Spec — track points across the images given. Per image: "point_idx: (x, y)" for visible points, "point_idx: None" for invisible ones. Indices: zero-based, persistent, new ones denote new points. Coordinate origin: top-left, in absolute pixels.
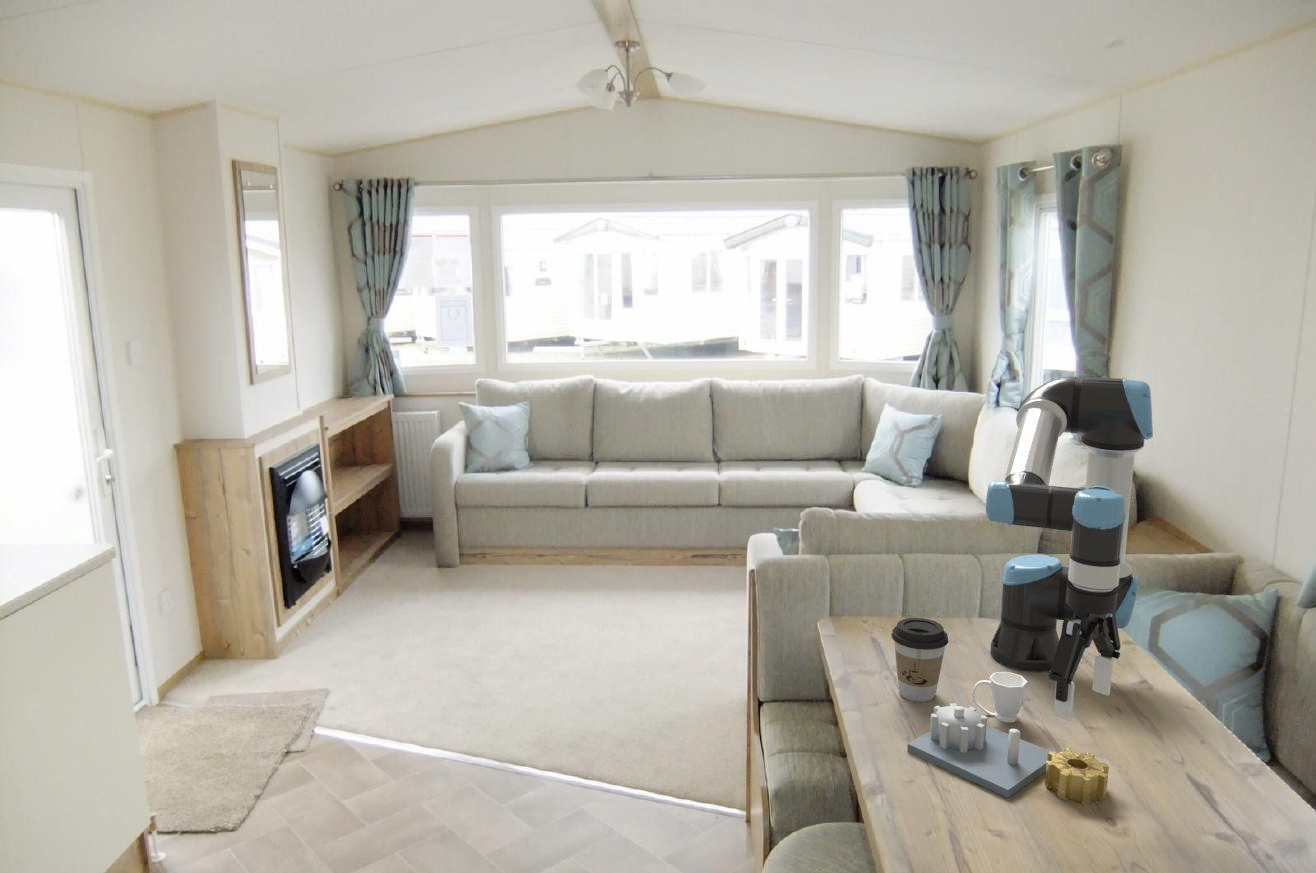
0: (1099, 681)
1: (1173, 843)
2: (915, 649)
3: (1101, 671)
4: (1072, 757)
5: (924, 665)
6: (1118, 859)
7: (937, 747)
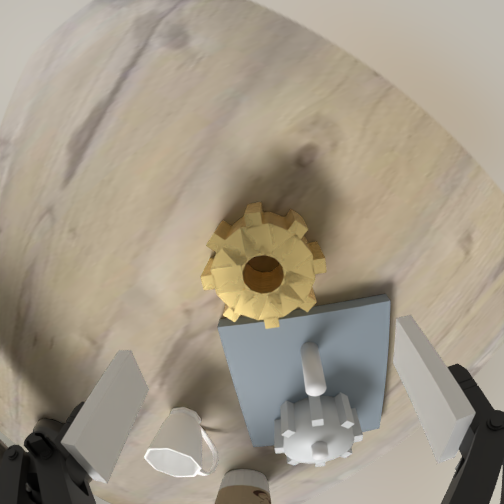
0: (129, 399)
1: (269, 61)
2: None
3: (113, 424)
4: (249, 294)
5: None
6: (389, 92)
7: (359, 412)
